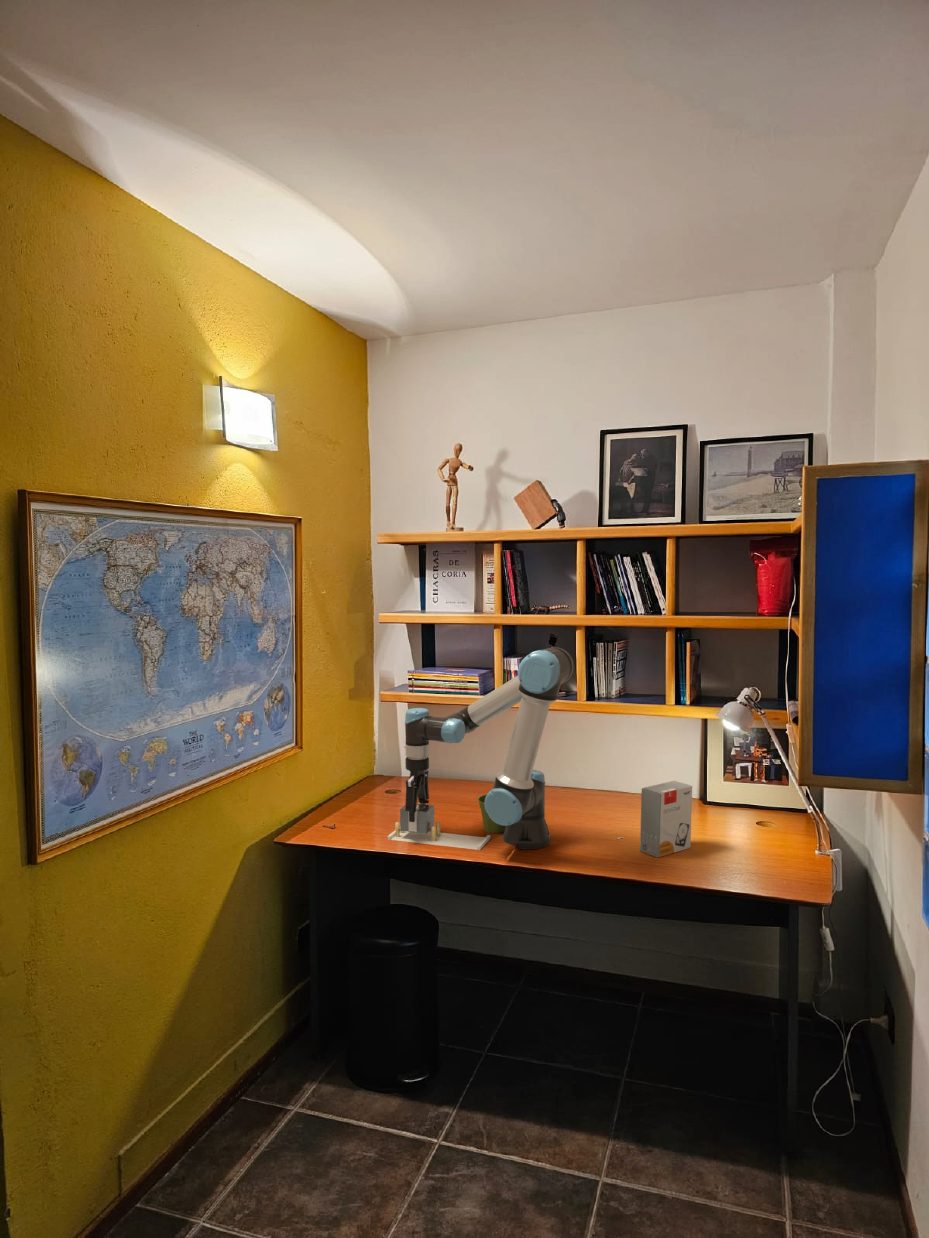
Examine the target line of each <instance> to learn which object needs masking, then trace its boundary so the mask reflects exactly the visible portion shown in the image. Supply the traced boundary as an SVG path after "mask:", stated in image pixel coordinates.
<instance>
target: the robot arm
mask: <svg viewBox="0 0 929 1238" xmlns="http://www.w3.org/2000/svg"><path fill="white" fill-rule="evenodd" d="M573 672H574V660H573V658H572V656H571V654H570V653H569V652H568V651H567V650H565V649H563V648H561V647H555V646H552V647H551V646H550V647H547V648H544V649H539V650H535V651H532V652H530V653H529V654H527V655H526V656H525V657H524V658H523V659H522V660H521V661H520V663H519V666H518V670H517V675H516V676H515V677H513V678H512V679H510V680H508V681H507V682H505V683H503V684H501V685H500V686H498V687H497V688H495V689H494V690H492V691H490V692H489V693H487V694H485V695H483V696H482V697H480V698H479V699H477V700H475V701H474V702H473V703H470V704H469V705H468V706H465V707H464V708H462V709H460V710H459V711H457V712H456V713H452V714H449V715H447V716H445V717H439V716H431V715H430V711H429V709H428V708H424V707H416V708H415V707H412V708H409V709H406V712H405V720H404V721H405V722H404V727H405V728H404V729H405V746H404V749H405V761H404V762H405V769H406V770H407V771H409V772H410V774H409V777H408V779H406V780H405V788H406V789H405V805H404V806H405V811H408V815H409V831H413V832H417V811H416V806H417V804H424V805H427V804H429V803H430V800H429V799H430V793H429V791H430V790H429V768H430V758H429V755H430V741H432V742H438V743H439V742H441V743H446V744H459V743H461V742H462V741H463V740H464V738H465V736H466V735H467V734H470V733H472V732H473V731H475V730H476V729H477V728H479V727H480V726H482V725H483V724H485V723H487V722H489V721H491V720H492V719H494V718H496V717H497V716H498V715H501V714H503V713H504V712H506V711H508V710H509V709H511V708H512V707H514V706H516V705H519V706H518V710H517V714H516V718H515V722H514V726H513V730H512V734H511V737H510V741H509V743H508V744H509V745H508V749H507V753H506V757H505V760H504V761H505V762H504V764H503V769H502V770H501V771H500V770H499V771H498V772H497V773H496V775H495V779H494V783H493V786H492V789H490V790H489V792H488V793H486V794H487V796H486V798H485V810H486V812H487V813H488V815H489V817H490V818H491V819H492V820H493V821H494V822H495V823H497V824H499V825H503V826H506V827H505V830H504V832H502V840H503V842H504V843H506V844H507V845H510V846H511V845H512V846H514V849H519V850H537V849H542V848H545V847H547V846H549V845H550V844H551V833H550V831H549V828H548V825H547V821H546V819H545V817H546V816H545V814H546V813H545V812H546V811H545V810H546V809H545V807H546V803H545V802H546V800H545V799H546V793H545V792H546V789H545V788H546V779H545V773H543V772H542V771H541V770H536V769H534V765H535V763H536V759H537V755H538V751H539V747H540V743H541V739H542V735H543V732H544V729H545V724H546V721H547V718H548V713H549V709H550V705H551V704H552V703H554V702H556V701H557V699H558V696H559V692H560V690H561V685H563V684H565V683H566V682H567V681H569V680H570V678H571V677H572V675H573Z"/></svg>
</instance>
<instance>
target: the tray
mask: <svg viewBox="0 0 929 1238" xmlns="http://www.w3.org/2000/svg"><path fill="white" fill-rule="evenodd" d="M394 826H395V827H394V828H395V829H394V831H392V832H391V833H390V834H388V835H387V841H389V840H390V841H399V842H407V843H415V844H425V845H433V846H442V847H450V848H458V849H459V848H460V849H467V850H468V849H469V850H474V851H475V850H476V851H477V850H478V851H481V850H482V849H483V848H484V847H485V845H486V844H487V843H488V842H489V841H490V840H491V835H490V834H487V835H486V836H485V837H484V836H476V835H474V836H473V835H465V834H455V833H449V832H448V833H446V832H441V822H440V821H436V822H435V825H434V826H431V830H430V831H429V832H428V833H427V834H425V833H416V832H408V831H400V821H396V822H395V824H394Z"/></svg>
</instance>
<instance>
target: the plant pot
mask: <svg viewBox="0 0 929 1238" xmlns="http://www.w3.org/2000/svg"><path fill="white" fill-rule="evenodd" d="M487 794H488V793H486V794H481V795H479V796H478V797H477V799H476V800H477V802H478V803H479V808H480V811H481V812H480V813H481V817H482V818H481V819H482V824H483V829H484V831H485V832H487V833H493V834H498V833H503V832H504V830H505V827H506V826H503V825H499V824H497V823H495V822H494V821H493V820H492V819H491V818H490V817H489V815H488V813H487V812H486V810H485V798H486V796H487Z"/></svg>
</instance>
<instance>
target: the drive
mask: <svg viewBox="0 0 929 1238" xmlns="http://www.w3.org/2000/svg"><path fill="white" fill-rule="evenodd" d="M416 811H417V832H416V833H425V834H427V833H428V832H429V831H430V832H431V826H435V805H432V804H426V805H424V804H418V803H417V806H416ZM399 822H400V831H408V832H413V831H409V815H408V811H405V805H404V806H402V807H401V808H400V809H399Z"/></svg>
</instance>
